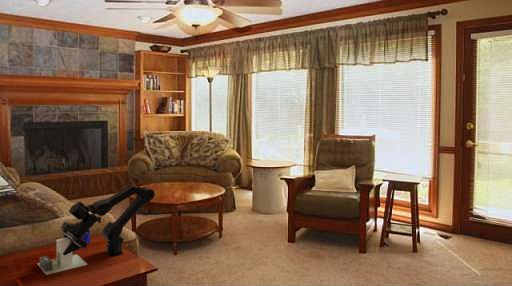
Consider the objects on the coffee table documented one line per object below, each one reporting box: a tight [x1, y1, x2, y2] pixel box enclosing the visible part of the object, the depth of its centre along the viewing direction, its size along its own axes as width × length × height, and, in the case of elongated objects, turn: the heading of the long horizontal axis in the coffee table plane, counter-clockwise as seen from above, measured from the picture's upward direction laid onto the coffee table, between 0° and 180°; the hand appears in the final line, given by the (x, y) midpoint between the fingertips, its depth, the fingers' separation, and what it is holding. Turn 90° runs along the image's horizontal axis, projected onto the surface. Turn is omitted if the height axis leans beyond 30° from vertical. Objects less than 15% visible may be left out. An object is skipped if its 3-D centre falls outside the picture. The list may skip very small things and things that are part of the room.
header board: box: [36, 254, 88, 276], centre depth 198 cm, size 18×14×5 cm
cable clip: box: [75, 232, 91, 252], centre depth 219 cm, size 12×4×6 cm, turn 169°
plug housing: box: [56, 238, 73, 267], centre depth 198 cm, size 5×6×11 cm
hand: (61, 252), depth 197 cm, fingers closed on plug housing, 6 cm apart
